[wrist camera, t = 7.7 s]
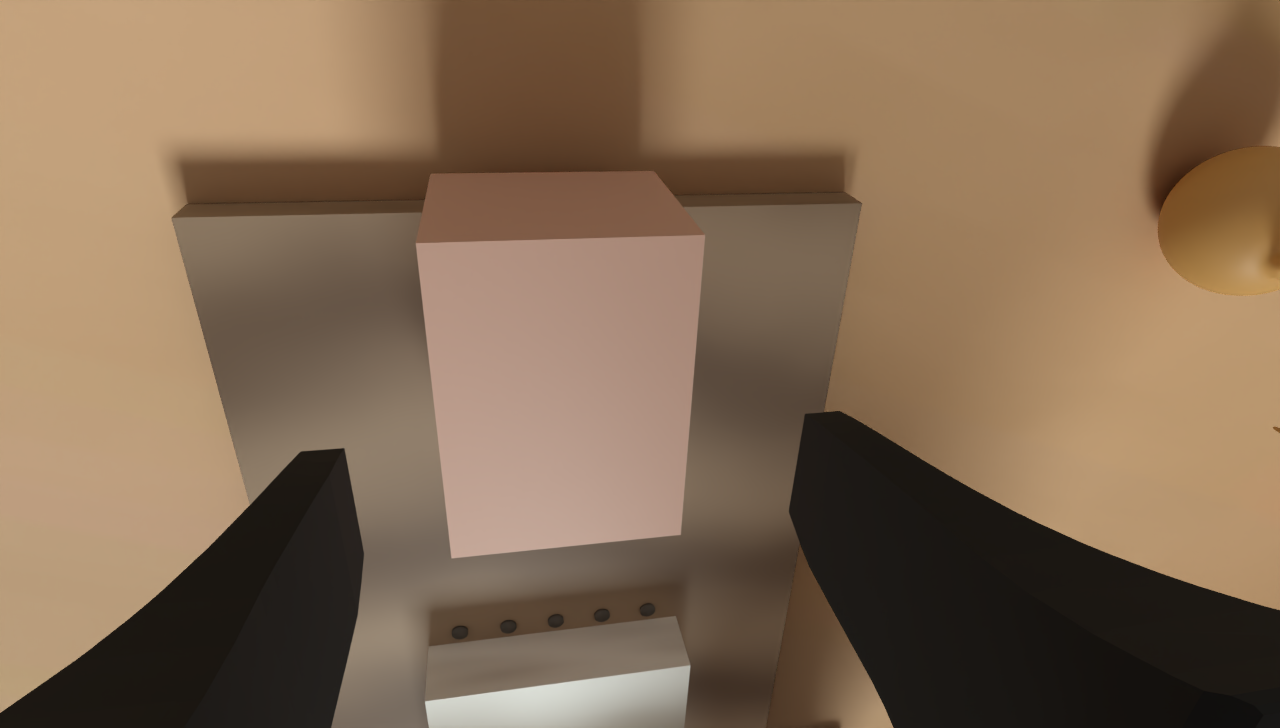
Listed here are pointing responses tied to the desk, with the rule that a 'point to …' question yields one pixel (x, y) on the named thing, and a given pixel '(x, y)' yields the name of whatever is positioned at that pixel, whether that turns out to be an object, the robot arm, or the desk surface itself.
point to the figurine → (1226, 223)
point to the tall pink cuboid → (559, 355)
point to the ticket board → (545, 578)
